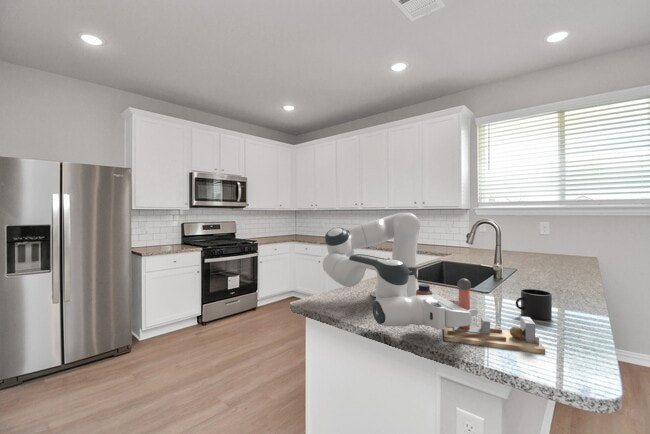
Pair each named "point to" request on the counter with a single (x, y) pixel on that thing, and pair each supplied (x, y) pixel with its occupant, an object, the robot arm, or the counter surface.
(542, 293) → the mug
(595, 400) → the counter surface
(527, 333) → the block
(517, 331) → the walnut
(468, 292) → the lever
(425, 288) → the supplement bottle
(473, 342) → the wooden base board
